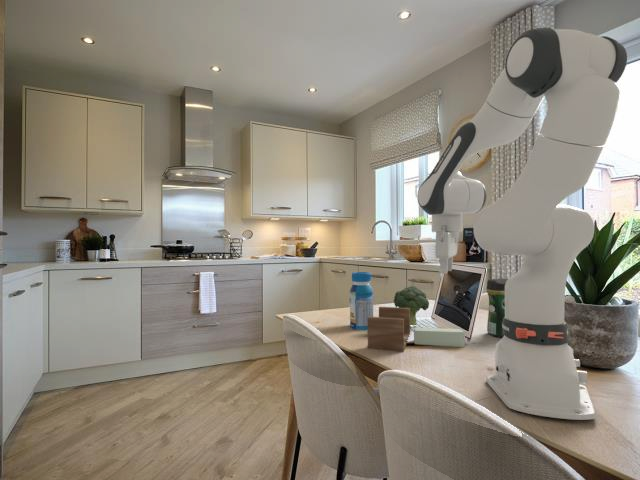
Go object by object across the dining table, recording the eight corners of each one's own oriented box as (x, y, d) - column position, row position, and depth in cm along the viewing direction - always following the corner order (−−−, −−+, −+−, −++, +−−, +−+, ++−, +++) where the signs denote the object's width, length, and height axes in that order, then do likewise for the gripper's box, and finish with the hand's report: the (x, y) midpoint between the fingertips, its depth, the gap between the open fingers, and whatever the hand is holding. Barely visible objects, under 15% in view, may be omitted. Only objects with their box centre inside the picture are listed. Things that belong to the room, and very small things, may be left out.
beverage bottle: (366, 333, 127) (365, 273, 127) (345, 330, 132) (344, 272, 132) (378, 328, 134) (377, 272, 134) (357, 325, 139) (357, 271, 139)
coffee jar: (510, 332, 128) (510, 277, 128) (524, 337, 120) (524, 279, 120) (483, 332, 127) (482, 277, 128) (495, 338, 120) (494, 279, 120)
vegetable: (415, 333, 126) (415, 288, 127) (385, 327, 136) (385, 285, 136) (435, 328, 134) (435, 286, 135) (405, 322, 144) (405, 283, 144)
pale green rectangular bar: (461, 344, 114) (461, 329, 114) (464, 347, 110) (464, 332, 110) (413, 342, 116) (413, 327, 116) (415, 345, 112) (414, 330, 112)
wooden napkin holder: (403, 352, 105) (403, 319, 105) (367, 349, 108) (367, 317, 108) (410, 335, 124) (409, 308, 124) (379, 333, 127) (379, 306, 127)
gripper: (453, 225, 102) (453, 276, 103) (461, 226, 121) (461, 269, 121) (429, 225, 105) (429, 275, 106) (441, 226, 124) (440, 268, 124)
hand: (446, 272), depth 113 cm, fingers open, 8 cm apart
